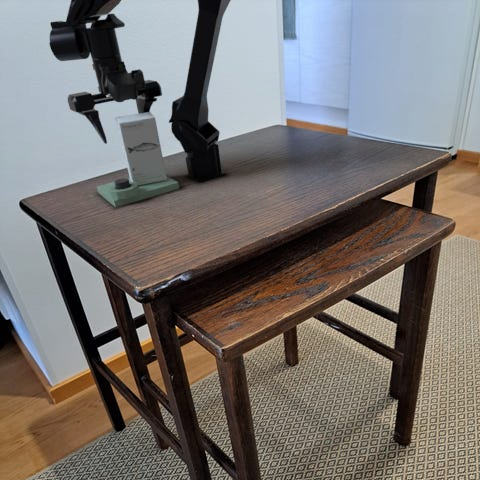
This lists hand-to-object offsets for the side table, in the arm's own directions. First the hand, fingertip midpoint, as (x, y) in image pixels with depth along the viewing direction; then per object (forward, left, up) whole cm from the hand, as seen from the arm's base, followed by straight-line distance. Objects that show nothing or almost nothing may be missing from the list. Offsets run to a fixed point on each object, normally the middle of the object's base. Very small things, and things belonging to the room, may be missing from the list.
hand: (125, 138), depth 98 cm
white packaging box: (0, +9, -7) cm, 11 cm away
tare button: (+7, +14, -6) cm, 16 cm away
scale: (+3, +10, -9) cm, 13 cm away
